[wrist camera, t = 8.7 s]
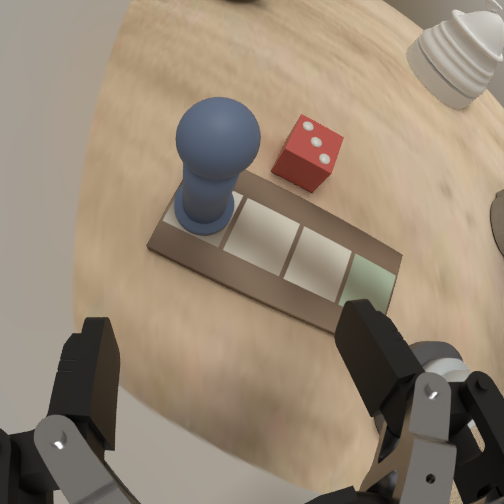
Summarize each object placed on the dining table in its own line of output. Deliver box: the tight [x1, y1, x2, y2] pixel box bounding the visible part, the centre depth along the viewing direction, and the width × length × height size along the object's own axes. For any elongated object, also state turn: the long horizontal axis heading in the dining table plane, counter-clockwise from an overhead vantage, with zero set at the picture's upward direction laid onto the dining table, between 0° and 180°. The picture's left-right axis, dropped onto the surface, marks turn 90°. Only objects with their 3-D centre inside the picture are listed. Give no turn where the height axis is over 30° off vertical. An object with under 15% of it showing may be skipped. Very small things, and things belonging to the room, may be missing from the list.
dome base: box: [374, 341, 463, 435], centre depth 24 cm, size 11×11×2 cm
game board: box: [146, 170, 403, 335], centre depth 25 cm, size 9×20×1 cm, turn 66°
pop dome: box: [423, 358, 476, 429], centre depth 20 cm, size 8×8×6 cm
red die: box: [271, 114, 344, 192], centre depth 25 cm, size 4×4×4 cm
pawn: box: [174, 97, 261, 236], centre depth 18 cm, size 4×4×12 cm
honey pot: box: [406, 0, 504, 110], centre depth 29 cm, size 13×13×18 cm
